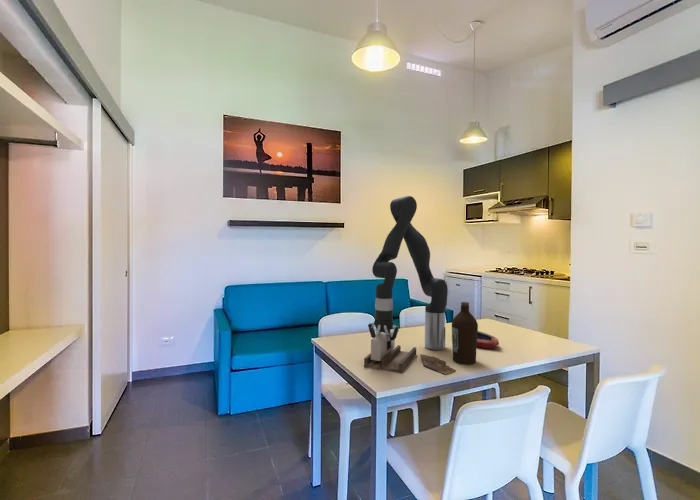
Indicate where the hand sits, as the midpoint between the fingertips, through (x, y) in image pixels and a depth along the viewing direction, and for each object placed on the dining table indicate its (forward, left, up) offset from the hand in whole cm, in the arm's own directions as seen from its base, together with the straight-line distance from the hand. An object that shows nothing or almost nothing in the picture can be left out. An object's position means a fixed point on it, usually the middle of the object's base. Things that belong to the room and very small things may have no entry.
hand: (383, 348), depth 151 cm
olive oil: (-32, -13, -5) cm, 35 cm away
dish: (-34, -46, -5) cm, 57 cm away
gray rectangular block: (0, 0, -2) cm, 2 cm away
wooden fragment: (-21, -4, -5) cm, 22 cm away
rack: (-4, 0, -5) cm, 6 cm away
